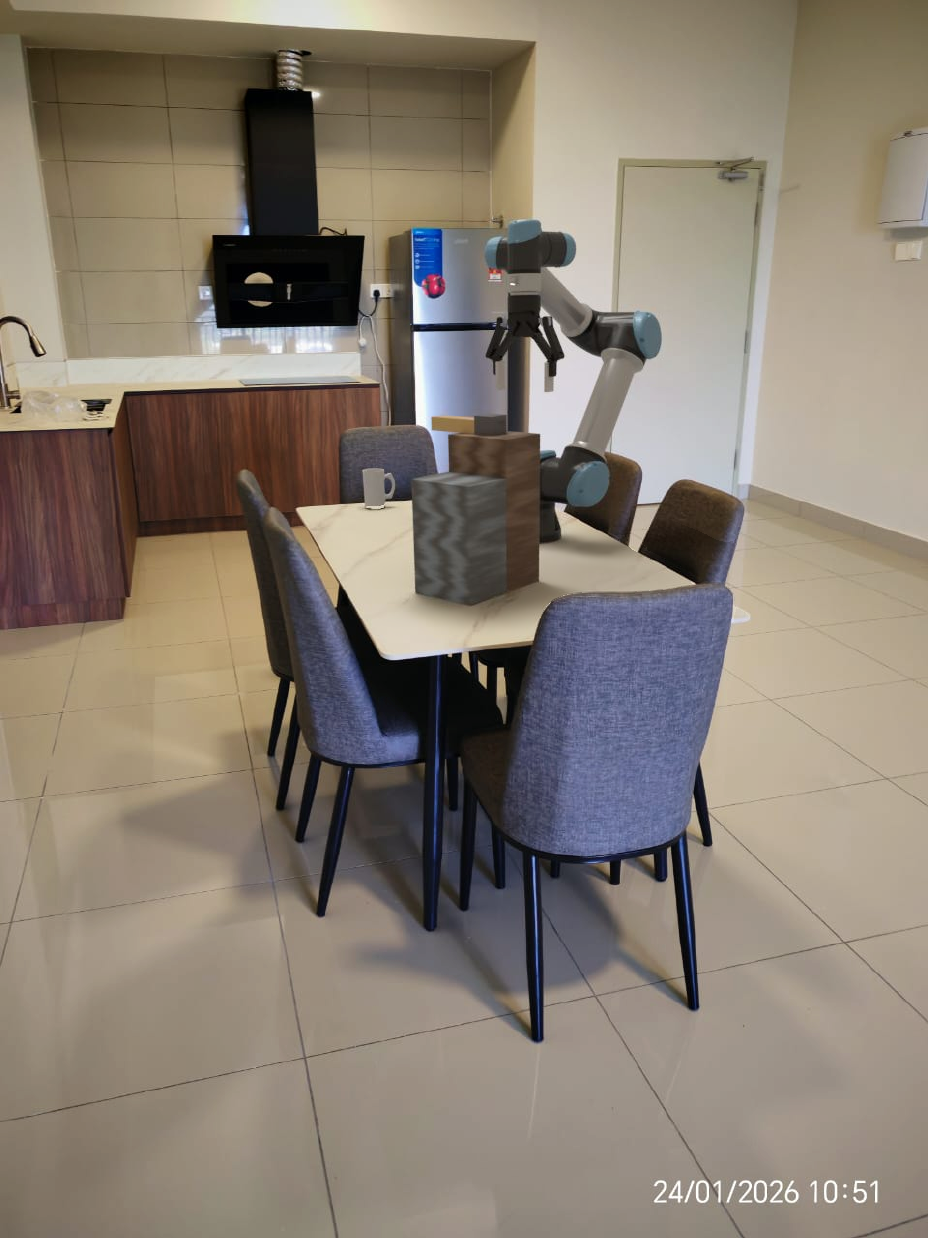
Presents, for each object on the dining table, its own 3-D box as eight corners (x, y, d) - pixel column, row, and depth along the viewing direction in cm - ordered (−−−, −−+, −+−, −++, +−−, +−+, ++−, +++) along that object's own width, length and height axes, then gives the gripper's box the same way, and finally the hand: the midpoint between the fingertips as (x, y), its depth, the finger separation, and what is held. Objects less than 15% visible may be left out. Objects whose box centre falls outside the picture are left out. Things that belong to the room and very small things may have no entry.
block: (430, 430, 209) (429, 412, 208) (445, 428, 213) (444, 410, 212) (492, 435, 198) (492, 416, 197) (506, 433, 202) (506, 414, 200)
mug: (364, 510, 290) (362, 472, 286) (364, 506, 296) (362, 468, 292) (396, 509, 290) (394, 471, 287) (395, 505, 297) (394, 467, 293)
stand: (415, 592, 203) (409, 440, 193) (484, 569, 220) (483, 428, 210) (470, 605, 193) (468, 446, 183) (539, 580, 210) (540, 433, 200)
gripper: (470, 295, 213) (471, 390, 220) (562, 292, 199) (561, 393, 206) (489, 295, 219) (490, 387, 226) (580, 292, 204) (578, 391, 211)
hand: (524, 390), depth 216 cm, fingers open, 13 cm apart
